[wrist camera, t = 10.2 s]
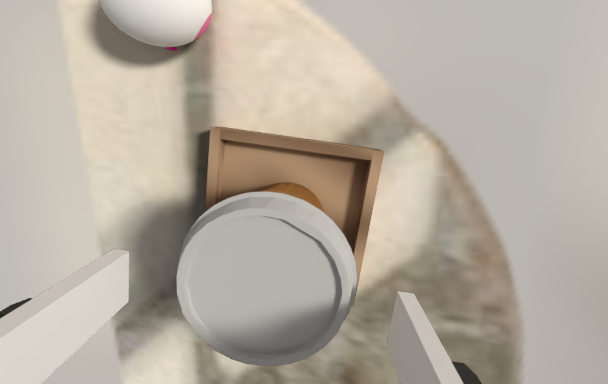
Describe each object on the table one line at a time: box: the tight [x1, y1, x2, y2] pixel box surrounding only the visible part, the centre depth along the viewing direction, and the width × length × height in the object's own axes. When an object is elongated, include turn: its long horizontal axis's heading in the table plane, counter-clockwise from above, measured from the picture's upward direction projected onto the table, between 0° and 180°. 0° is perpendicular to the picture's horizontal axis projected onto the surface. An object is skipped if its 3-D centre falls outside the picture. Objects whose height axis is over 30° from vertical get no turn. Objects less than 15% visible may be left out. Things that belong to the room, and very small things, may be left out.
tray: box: [205, 127, 384, 307], centre depth 26 cm, size 14×14×2 cm
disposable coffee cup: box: [176, 182, 357, 366], centre depth 21 cm, size 10×10×12 cm
